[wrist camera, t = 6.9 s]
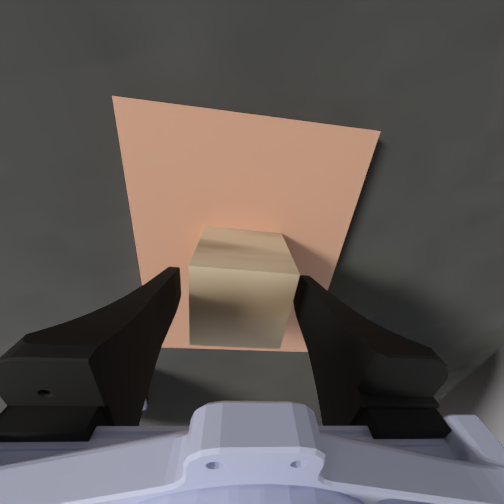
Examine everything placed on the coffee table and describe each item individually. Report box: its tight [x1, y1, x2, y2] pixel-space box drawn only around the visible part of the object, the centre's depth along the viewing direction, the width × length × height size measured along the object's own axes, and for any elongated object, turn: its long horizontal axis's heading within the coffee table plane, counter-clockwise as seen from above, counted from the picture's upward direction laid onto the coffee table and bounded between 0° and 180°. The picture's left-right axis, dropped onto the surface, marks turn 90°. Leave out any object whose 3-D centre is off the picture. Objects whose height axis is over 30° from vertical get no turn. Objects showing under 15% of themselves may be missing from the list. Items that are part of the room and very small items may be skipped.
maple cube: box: [188, 226, 300, 349], centre depth 13 cm, size 5×5×5 cm
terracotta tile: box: [112, 96, 381, 352], centre depth 16 cm, size 18×14×1 cm
